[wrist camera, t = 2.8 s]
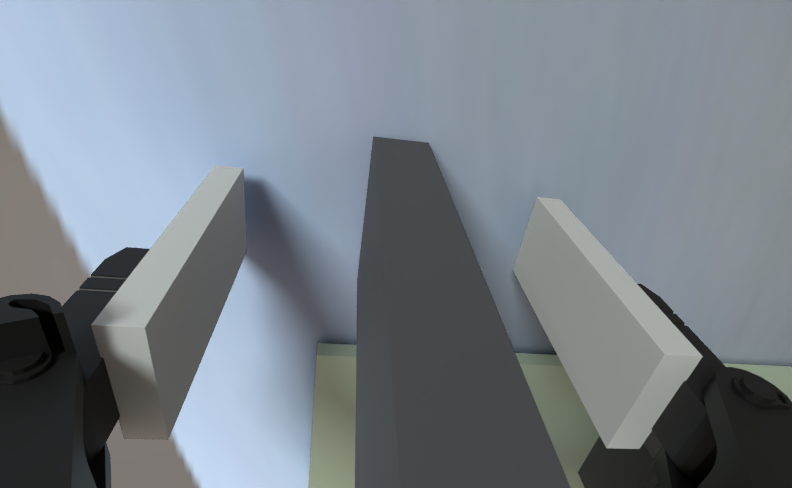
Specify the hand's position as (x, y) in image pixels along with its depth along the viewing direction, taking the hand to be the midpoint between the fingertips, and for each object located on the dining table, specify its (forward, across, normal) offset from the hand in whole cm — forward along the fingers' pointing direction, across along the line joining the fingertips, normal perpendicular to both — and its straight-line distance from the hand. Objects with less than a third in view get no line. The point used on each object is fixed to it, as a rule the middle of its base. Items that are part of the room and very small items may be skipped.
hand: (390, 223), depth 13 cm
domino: (0, 0, 0) cm, 0 cm away
